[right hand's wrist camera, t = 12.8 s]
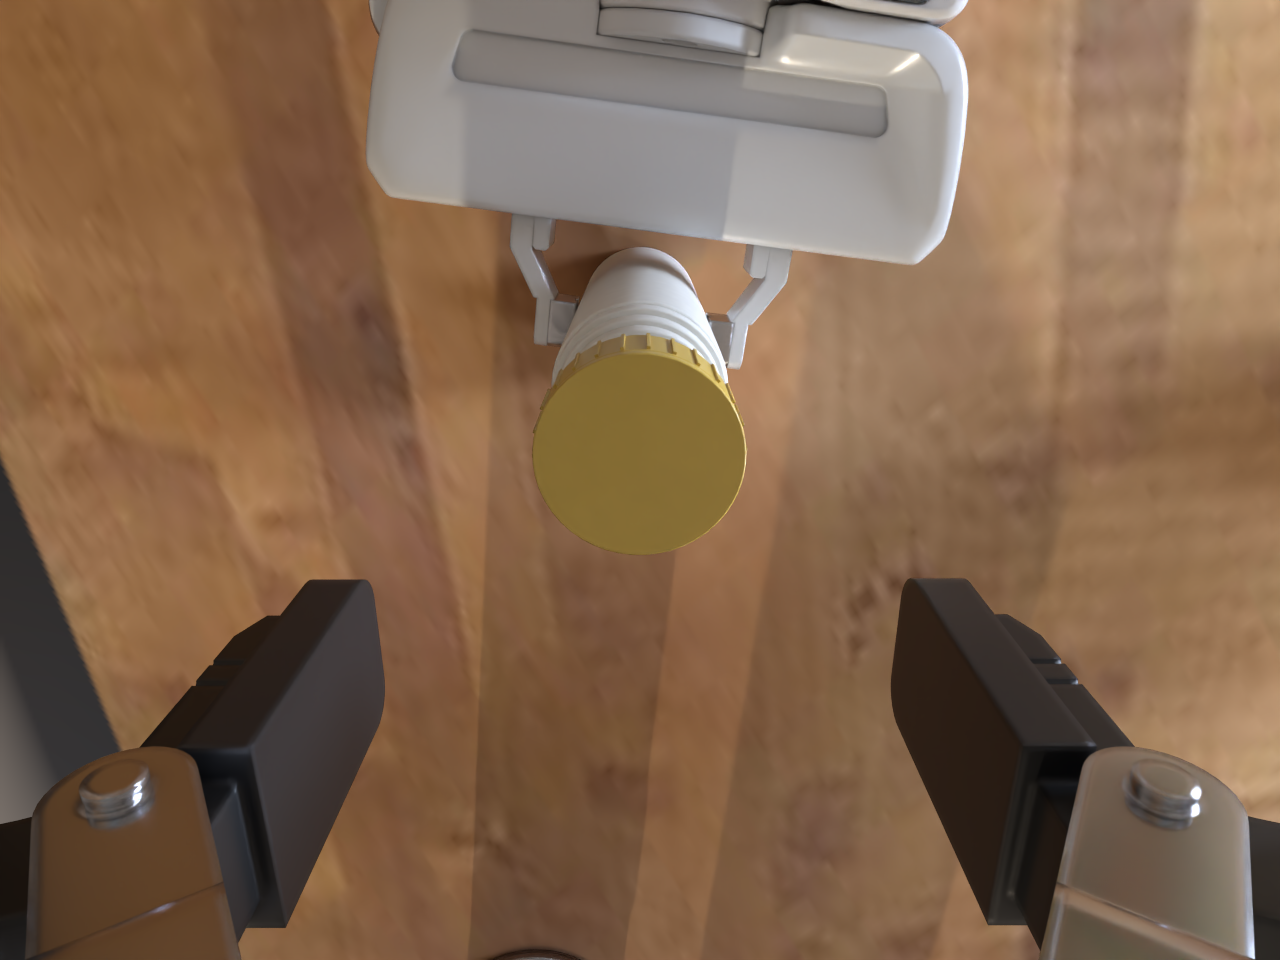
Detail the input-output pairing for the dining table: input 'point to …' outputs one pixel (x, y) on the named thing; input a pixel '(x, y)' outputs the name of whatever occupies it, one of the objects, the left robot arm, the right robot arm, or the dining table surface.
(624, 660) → the dining table surface
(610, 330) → the bottle
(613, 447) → the cap
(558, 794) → the dining table surface
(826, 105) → the left robot arm
